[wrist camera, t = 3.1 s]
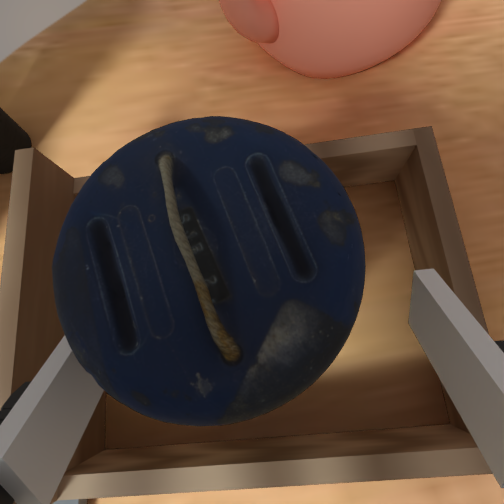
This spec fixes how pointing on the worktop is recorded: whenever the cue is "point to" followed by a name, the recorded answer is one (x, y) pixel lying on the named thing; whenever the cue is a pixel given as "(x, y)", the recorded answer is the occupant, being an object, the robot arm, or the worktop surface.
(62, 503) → the slate tile
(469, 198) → the worktop surface
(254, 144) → the canister
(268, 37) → the teapot
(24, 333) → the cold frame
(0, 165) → the drinking cup
